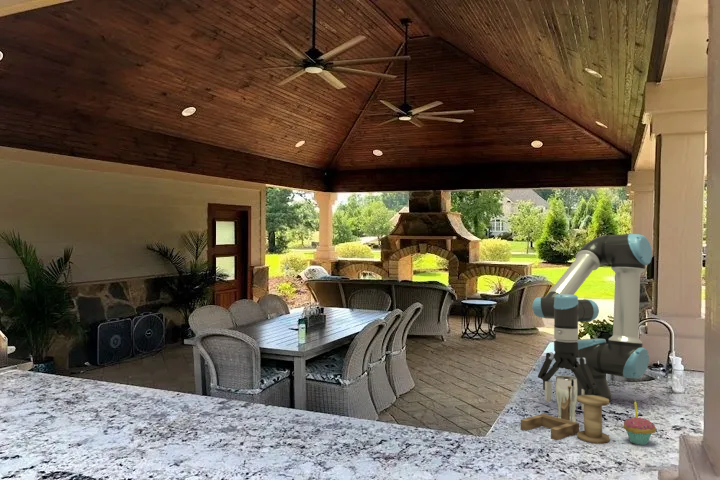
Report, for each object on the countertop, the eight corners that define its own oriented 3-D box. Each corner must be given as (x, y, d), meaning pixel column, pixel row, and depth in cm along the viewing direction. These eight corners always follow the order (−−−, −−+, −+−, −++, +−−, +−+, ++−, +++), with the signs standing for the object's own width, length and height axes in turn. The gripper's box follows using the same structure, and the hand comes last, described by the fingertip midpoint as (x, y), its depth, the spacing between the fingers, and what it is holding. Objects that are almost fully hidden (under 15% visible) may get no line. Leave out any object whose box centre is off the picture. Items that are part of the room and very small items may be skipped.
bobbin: (587, 432, 169) (587, 393, 169) (615, 439, 161) (614, 399, 162) (571, 437, 163) (570, 397, 164) (599, 445, 156) (598, 403, 157)
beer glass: (580, 426, 174) (579, 380, 175) (557, 425, 176) (557, 379, 176) (575, 420, 181) (575, 375, 182) (554, 419, 183) (553, 374, 183)
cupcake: (617, 437, 163) (617, 397, 164) (644, 437, 164) (643, 397, 165) (634, 447, 155) (633, 405, 155) (662, 446, 156) (661, 404, 156)
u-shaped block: (543, 422, 178) (543, 413, 178) (579, 432, 168) (579, 423, 168) (520, 429, 171) (520, 419, 171) (556, 440, 161) (556, 430, 161)
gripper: (527, 337, 187) (527, 398, 186) (594, 346, 167) (595, 415, 166) (540, 335, 192) (540, 395, 191) (607, 344, 172) (608, 411, 171)
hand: (566, 404), depth 178 cm, fingers open, 13 cm apart
